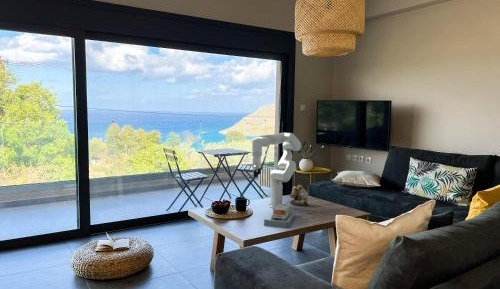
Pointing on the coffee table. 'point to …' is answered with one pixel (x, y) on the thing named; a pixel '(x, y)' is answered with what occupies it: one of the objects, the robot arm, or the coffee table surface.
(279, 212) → the toy car
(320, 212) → the coffee table surface
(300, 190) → the owl figurine
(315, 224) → the coffee table surface
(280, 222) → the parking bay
